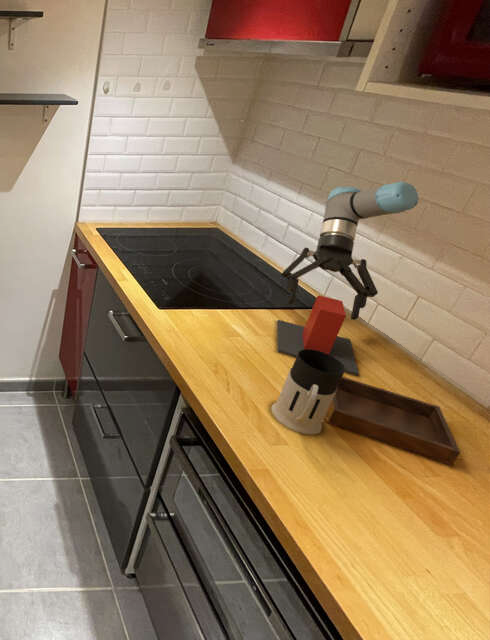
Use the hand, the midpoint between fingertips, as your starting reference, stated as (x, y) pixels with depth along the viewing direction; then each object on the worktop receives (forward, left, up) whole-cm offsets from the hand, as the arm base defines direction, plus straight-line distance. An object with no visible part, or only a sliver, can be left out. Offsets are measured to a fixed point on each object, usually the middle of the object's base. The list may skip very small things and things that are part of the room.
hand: (321, 310), depth 118 cm
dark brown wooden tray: (-10, +30, -7) cm, 33 cm away
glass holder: (+5, +42, -8) cm, 43 cm away
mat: (0, +7, -7) cm, 10 cm away
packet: (0, +7, -7) cm, 10 cm away
